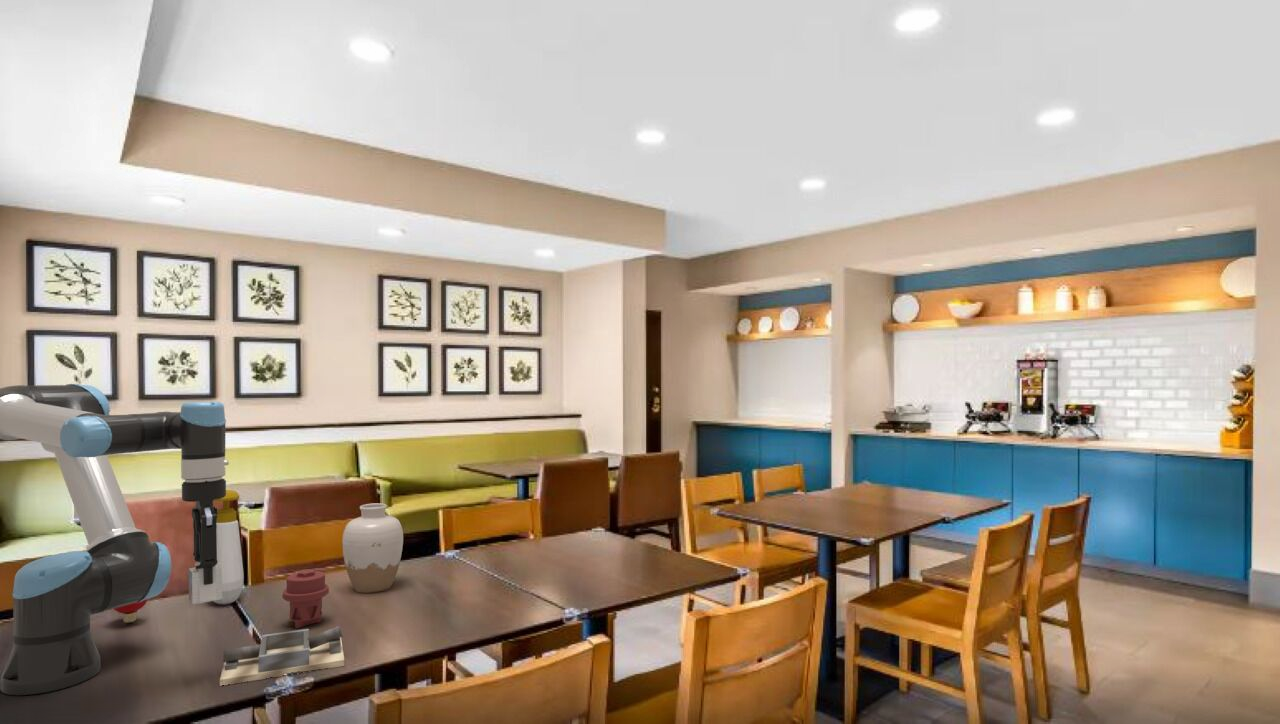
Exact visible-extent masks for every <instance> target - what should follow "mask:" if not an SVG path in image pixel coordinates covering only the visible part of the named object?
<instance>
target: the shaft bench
mask: <svg viewBox="0 0 1280 724" xmlns="http://www.w3.org/2000/svg"><path fill="white" fill-rule="evenodd" d="M342 637H344V636H343V631H342V629H341V625H338V626H335V627H331V628H329V629H327V630H325V631H321V632H318V633H317V634H314V635H312V636H310V629H309V628H303V629H298V630H297V629H296V630H291V631H290V630H289V631H282V632H275V633H269V634H262V635H261V640H260V644H254V645H248V646H240V647H234V648H228V649H223V658H222V659H223V666H222V669H221V673H220V676H219V677H220V678H219V687H221V686H222V685H224V686H228V684H230V685H236V684H241V682H242V683H247V681H248V682H253V681H254V682H255V681H258V680H259V681H260V680H266V678H267V679H271V678H270V677H273V678H279V677H283V676H282V675H284V674H287V673H291V672H297V671H307V670H316V669H317V670H316V671H319V670H318V669H322V670H326V669H325V668H328V669H333V668H340V667H344V666H345V655H344V650H343V647H344V646H343V643H342ZM235 683H236V684H235ZM222 687H223V686H222Z"/></svg>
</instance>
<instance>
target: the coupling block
mask: <svg viewBox="0 0 1280 724" xmlns="http://www.w3.org/2000/svg"><path fill="white" fill-rule="evenodd" d="M198 566H199V565H198ZM215 569H216V600H219V599H222V568H221V567H220V566H219V565H218V564H217V565H215ZM188 595H189V596H188V597H189V598H188V599H189V601H190V603H191V604H192V605H196V604H202V603H208V602H209V603H210V602H214V600H210V601H205V602H199V569H196V567H195V566H194V567H190V568H188Z"/></svg>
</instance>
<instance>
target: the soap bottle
mask: <svg viewBox="0 0 1280 724" xmlns="http://www.w3.org/2000/svg"><path fill="white" fill-rule="evenodd" d="M239 499H240V495H239V494H238V492H237V491H234V490H231V489H226V496H225V497H223V498H221V499H214V500H213V502H222V508H221V509H217V524H216V525H217V528H216V533H217V561H218V562H217V564H218V565H219V566H220V567H221V568H222V599H219V600H214V601H213V602H214V603H215V604H217V605H223V606H224V605H229V604H230V605H231V604H233V603H234V602H236V601H237V600H238V599H239V597H240V596H241V594H242V591H243V586H244V578H245V577H244V575H245V574H244V567H243V556H242V546H241V538H240V529H239V521H238V519H237V510H235V508H233V507H232V508H231V507H230V502H231V501H235V500H239Z"/></svg>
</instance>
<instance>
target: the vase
mask: <svg viewBox="0 0 1280 724" xmlns="http://www.w3.org/2000/svg"><path fill="white" fill-rule="evenodd" d="M387 507H388V505H387V504H386V503H381V502H380V503H375V502H374V503H373V502H372V503H366V504H362V505H360V506H359V509H360V510H359V511H360V512H361V513H360V514H361V516H359V517H356V518H354V519H352V520H350V521H348V522H347V524H346V525H345V528H344V530H343V533H342V554H343V560H344V565H345V570H346V572H347V575H348V578H349V581H350V584H351V586H352V587H353V588H352V589H353V590H354V591H355V592H357V593H362V594H370V593H371V594H372V593H379V592H384V591H386V590H388V589H390V588H391V587H392V586H393V583H394V581H395V578H396V575H397V573H398V570H399V566H400V564H401V558H402V552H403V545H404V531H403V527H402V524H401V522H400V520H399V519H398V518H397V517H394V516H392V515H387V514H386V509H387Z"/></svg>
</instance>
